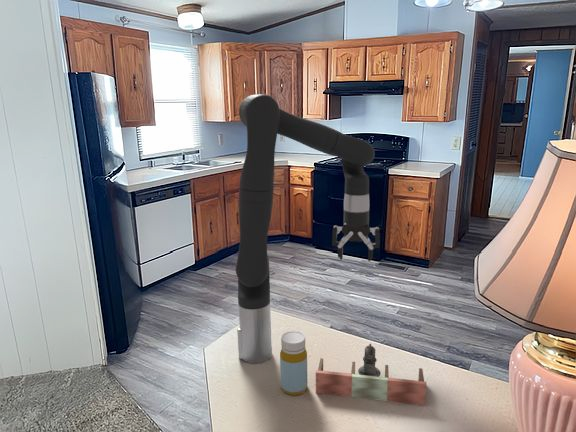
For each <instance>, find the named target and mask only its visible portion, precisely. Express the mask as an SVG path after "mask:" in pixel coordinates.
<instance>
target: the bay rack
mask: <svg viewBox="0 0 576 432" xmlns="http://www.w3.org/2000/svg"><path fill="white" fill-rule="evenodd" d="M350 371H351V372H350V373H347V372H339V371H338V372H337V371H331V370H330V371H328V370H324V358H322V357H321V358H319V363H318V368H317V369H316V370H315V394H325V395H331V396H341V397H350V398H358V399H366V400H367V399H368V400H377V401H382V402H383V401H386V402H393V403H400V404H401V403H402V404H409V405H418V406H426V398H427V397H426V396H427V381H425V377H424V373H423V372H424V371H423V368H421V367H420V368H418V378H417V379H418V380H415V379H413V380H412V379H403V378H395V377H390V376H389V365H388V364H385V365H384V376H379V377H376V376H366V375H359V374H356V361H351V370H350Z"/></svg>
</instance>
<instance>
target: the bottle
mask: <svg viewBox="0 0 576 432" xmlns="http://www.w3.org/2000/svg"><path fill="white" fill-rule="evenodd" d="M280 341H281V342H280V343H281V350H280V352H279V366H280V367H279V368H280V370H279V372H280V389H281V390H282V391H283V392H284V394H287V395H290V396H299V395H301V394H303V393H305V391H306V390H307V389H308V351H307V349H306V335H305V334H304V333H303V332H301V331H299V330H289V331H287V332H284V333H283V334H282V335H281V337H280Z"/></svg>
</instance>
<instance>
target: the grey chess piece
mask: <svg viewBox="0 0 576 432" xmlns="http://www.w3.org/2000/svg"><path fill="white" fill-rule="evenodd" d="M362 360H363V365H362V366H360V367H359V368H358V370H357V372H358V375H366V376H376V377H381V370H380V369H379V368H378V367H376V363H377V358H376V348H375V347H374V346H373V345H372V343H369V344H368V345H367V346H365V347H364V355H363V357H362Z"/></svg>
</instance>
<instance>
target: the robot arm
mask: <svg viewBox="0 0 576 432" xmlns="http://www.w3.org/2000/svg"><path fill="white" fill-rule="evenodd" d="M238 115H239V119H240V121H241V122H242V124H243V125H244V126H245V127H246V133H247V134H246V135H247V137H246V138H247V139H246V141H247V145H246V148H247V149H246V155H245V158H244V162H243V165H242V168H241V172H240V176H239V183H238V184H239V185H238V222H239V246H238V252H237V259H236V263H235V275H236V277H237V303H238V304H237V305H238V319H239V320H238V321H239V323H238V324H239V327H238V328H237V350H238V359H240V360H243V361H244V362H247V363H249V364H261V363H264V362H267V361H268V360H269V359H271V357H272V355H273V352H272V351H273V349H272V348H273V347H272V320H271V319H272V317H271V315H272V314H271V283H270V259H269V256H268V235H269V231H270V230H269V229H270V223H271V217H272V211H273V205H274V187H275V186H274V185H275V184H274V182H275V181H274V179H275V155H276V154H275V153H276V151H275V150H276V143H277V138H278V135H280V136H283V137H286V138H287V139H291V140H292V141H294V142H295V141H296V142H297V143H300V144H302V145H304V146H307V147H308V148H311V149H314V151H315V150H316V151H318V152H322V153H323V154H326V155H329V156H331V157H332V156H334V157H337V158H340V160H341V166H342V171H343V176H344V179H345V180H344V197H343V225H342V226H338V225H337V224H335V225H333V228H332V238H331V245H332V246H333V247H336V248H337V258H339V260H340V261H341V260H343V258H344V257H343V256H344V254H343V253H344V245H345V244H346V243H347V242H348V241H350V242H358V243H361V242H362V241H363V243H364V244H365V245H366V246H367V248H368V253H367V255H368V257H367V259H368V262H371V260H373V258H374V250H375V249H379V248H380V245H381V242H380V228H379V226H376V227H370V206H371V205H370V178H369V175H368V174H367V173H366V172H365V170H364V166H368V165H369V164H371V163H372V162H373V161H374V159H375V155H376V153H375V149H374V147H373V145H372V144H371V143H370V142H368V141H366V140H363V139H360V138H359V137H358V138H357V137H354V136H352V135H347V134H345V133H342V132H341V131H339V130H336V129H335V128H332V127H330V126H327V125H324V124H322V123H319V122H316V121H312V120H309V119H306V118H303V117H300V116H298V115H294V114H293V113H290V112H287V111H285V110H283V109H281V108H280V106H279V104H278V102H277V100H275V99H274V97H273V96H271V95H268V94H261V93H259V94H258V93H256V94H251V95H248V96H246V97H245V98H244V99H243V100H242V101H241V102H240V104H239V106H238ZM340 232H342V234H343V235H344V236H343V237H342V238H341V239H340V240H339V241H338V234H340ZM370 233H372V235H373V236H374V239H375V240H374V241H375V242H372V241H371V239H370V238H369V234H370Z"/></svg>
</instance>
